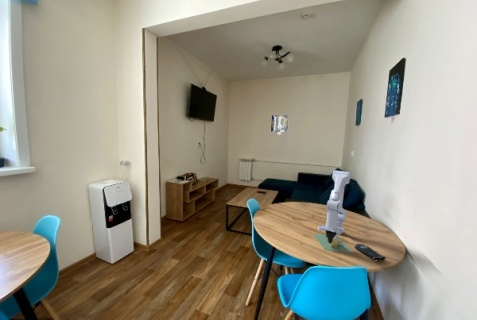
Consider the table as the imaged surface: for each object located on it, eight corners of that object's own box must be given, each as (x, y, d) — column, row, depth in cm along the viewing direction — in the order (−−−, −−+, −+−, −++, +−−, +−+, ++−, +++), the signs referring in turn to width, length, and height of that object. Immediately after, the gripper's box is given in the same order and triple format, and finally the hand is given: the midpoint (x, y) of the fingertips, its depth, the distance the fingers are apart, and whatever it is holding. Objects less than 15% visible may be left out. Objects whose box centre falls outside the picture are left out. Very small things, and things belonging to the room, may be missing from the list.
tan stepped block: (329, 244, 119) (330, 238, 118) (340, 245, 118) (340, 239, 118) (332, 247, 116) (332, 241, 115) (342, 248, 115) (343, 241, 115)
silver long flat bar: (327, 233, 130) (328, 231, 130) (331, 233, 130) (331, 232, 130) (338, 244, 115) (338, 243, 115) (342, 245, 115) (342, 243, 115)
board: (312, 235, 132) (313, 228, 132) (337, 237, 132) (338, 229, 131) (324, 252, 113) (325, 244, 112) (353, 254, 112) (354, 246, 111)
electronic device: (385, 263, 108) (362, 245, 122) (387, 255, 106) (363, 237, 120) (371, 267, 106) (350, 248, 120) (373, 258, 104) (351, 240, 118)
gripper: (321, 222, 112) (319, 245, 113) (348, 224, 111) (345, 247, 113) (317, 217, 119) (315, 239, 120) (342, 219, 118) (339, 240, 120)
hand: (329, 242), depth 117 cm, fingers closed
